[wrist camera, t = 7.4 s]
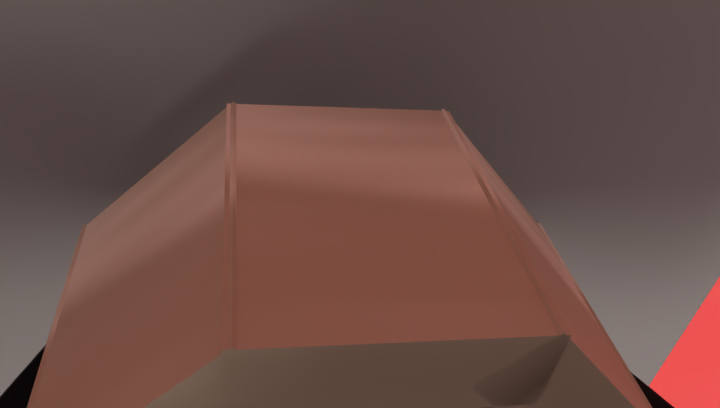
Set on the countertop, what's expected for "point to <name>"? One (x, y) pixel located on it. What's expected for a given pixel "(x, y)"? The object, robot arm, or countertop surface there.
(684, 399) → the countertop surface
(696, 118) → the post board
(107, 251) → the ring
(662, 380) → the countertop surface
